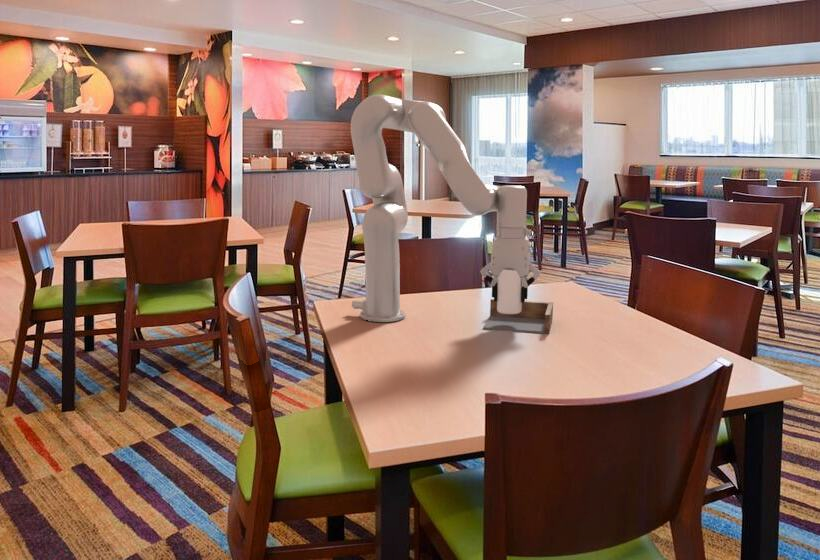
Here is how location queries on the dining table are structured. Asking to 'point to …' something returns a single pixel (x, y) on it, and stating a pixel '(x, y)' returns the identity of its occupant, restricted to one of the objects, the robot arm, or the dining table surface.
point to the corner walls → (529, 312)
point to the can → (509, 292)
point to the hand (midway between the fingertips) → (509, 300)
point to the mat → (515, 324)
